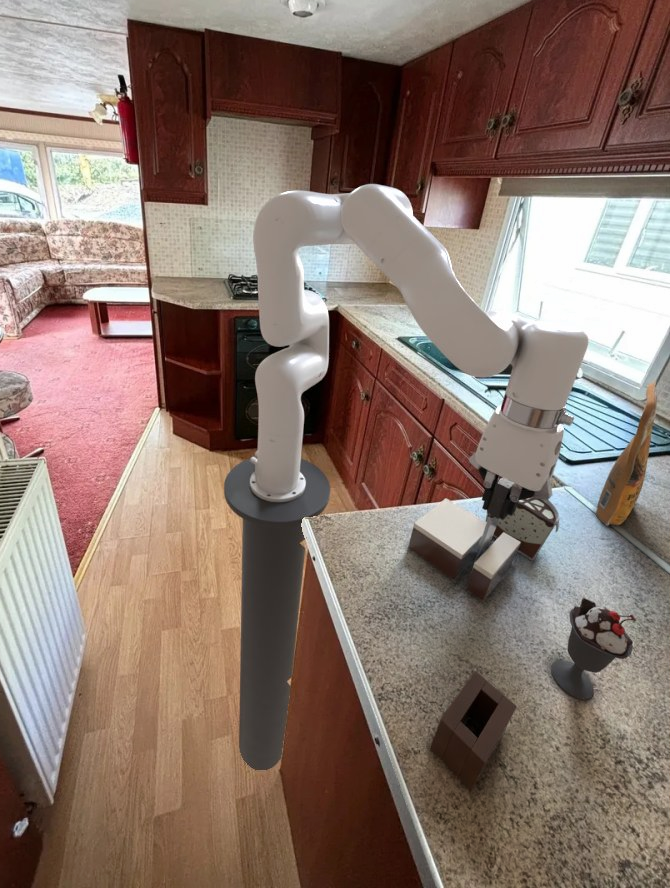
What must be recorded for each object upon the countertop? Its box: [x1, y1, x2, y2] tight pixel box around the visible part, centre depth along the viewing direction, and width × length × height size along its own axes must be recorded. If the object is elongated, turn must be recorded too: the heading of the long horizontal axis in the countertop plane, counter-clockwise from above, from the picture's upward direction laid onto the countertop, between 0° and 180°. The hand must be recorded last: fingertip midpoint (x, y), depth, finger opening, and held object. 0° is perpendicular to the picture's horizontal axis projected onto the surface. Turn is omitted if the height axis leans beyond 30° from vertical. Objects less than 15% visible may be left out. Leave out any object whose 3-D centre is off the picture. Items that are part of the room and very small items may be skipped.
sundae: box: [550, 597, 637, 700], centre depth 52 cm, size 7×7×15 cm
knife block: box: [429, 670, 518, 793], centre depth 46 cm, size 5×8×6 cm, turn 132°
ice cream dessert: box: [485, 497, 560, 561], centre depth 76 cm, size 12×6×10 cm, turn 40°
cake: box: [407, 498, 487, 582], centre depth 73 cm, size 9×11×6 cm
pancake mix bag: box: [595, 380, 658, 527], centre depth 83 cm, size 7×19×28 cm, turn 132°
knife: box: [472, 477, 514, 564], centre depth 66 cm, size 2×4×16 cm, turn 132°
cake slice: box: [465, 532, 521, 602], centre depth 68 cm, size 3×11×6 cm, turn 132°
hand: (496, 510), depth 65 cm, fingers closed on knife, 2 cm apart
